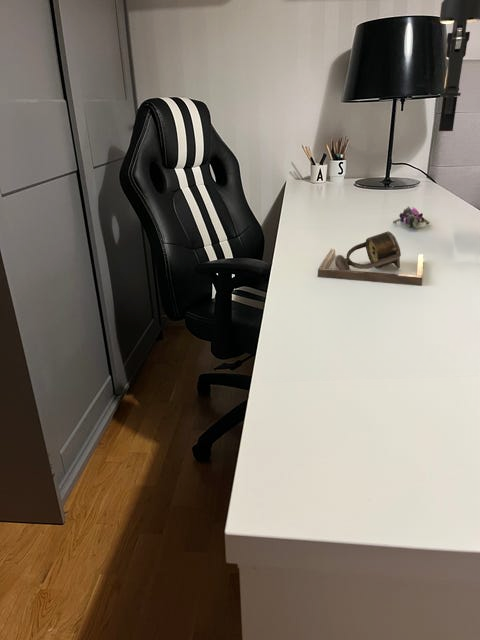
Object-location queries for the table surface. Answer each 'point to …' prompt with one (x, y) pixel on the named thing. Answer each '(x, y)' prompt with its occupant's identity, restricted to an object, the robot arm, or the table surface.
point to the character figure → (411, 217)
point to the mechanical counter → (374, 253)
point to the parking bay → (370, 273)
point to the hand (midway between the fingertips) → (445, 130)
